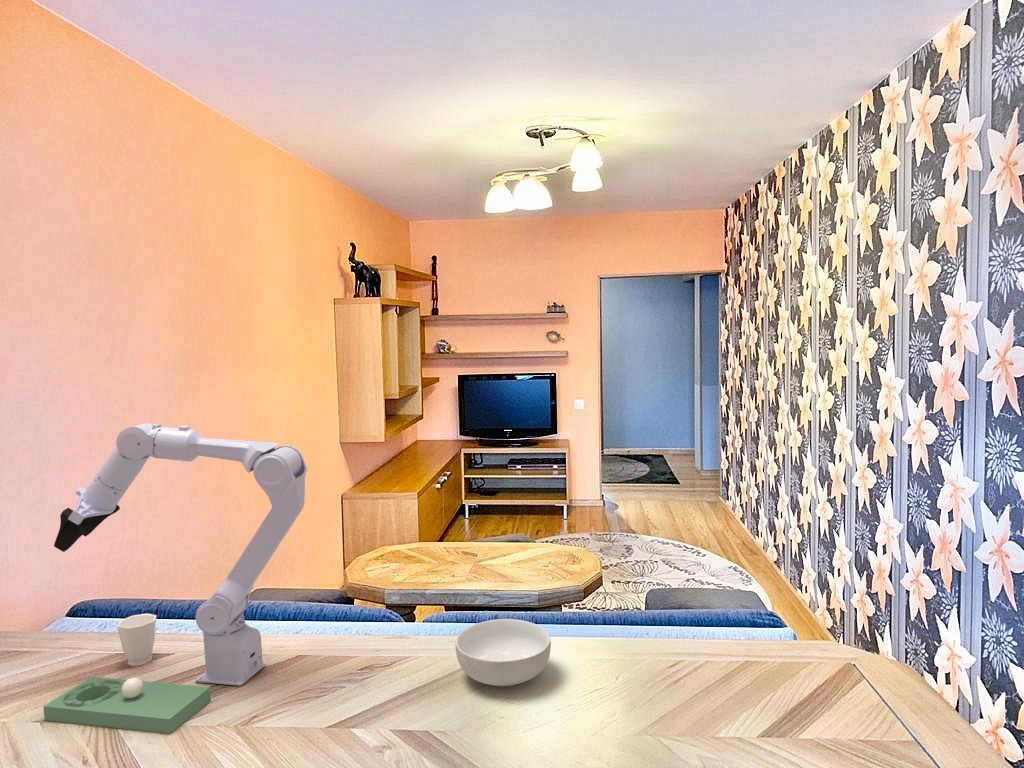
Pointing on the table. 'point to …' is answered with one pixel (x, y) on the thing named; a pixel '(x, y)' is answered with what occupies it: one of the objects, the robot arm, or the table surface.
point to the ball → (132, 687)
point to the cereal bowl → (503, 651)
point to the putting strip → (128, 705)
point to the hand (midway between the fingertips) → (71, 540)
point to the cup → (137, 637)
